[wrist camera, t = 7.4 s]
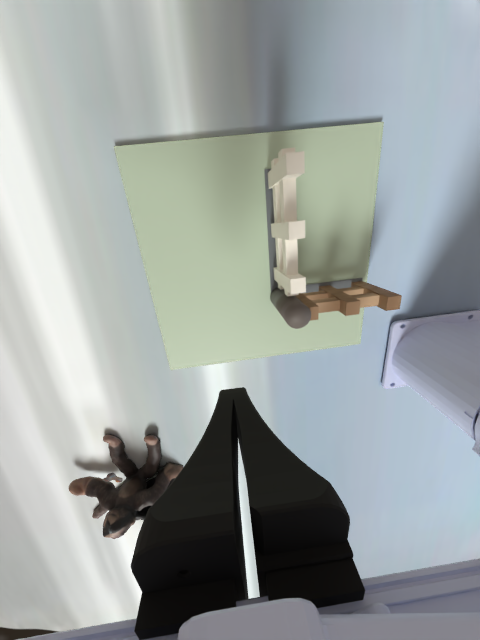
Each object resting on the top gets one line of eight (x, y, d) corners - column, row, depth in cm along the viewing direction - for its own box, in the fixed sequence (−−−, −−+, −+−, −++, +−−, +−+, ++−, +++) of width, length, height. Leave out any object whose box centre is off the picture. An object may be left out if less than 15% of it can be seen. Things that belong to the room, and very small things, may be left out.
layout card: (380, 123, 17) (384, 121, 16) (358, 342, 24) (360, 344, 23) (115, 147, 16) (112, 145, 16) (171, 368, 23) (170, 370, 22)
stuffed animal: (188, 438, 25) (168, 574, 22) (189, 420, 35) (174, 514, 32) (69, 431, 23) (29, 579, 20) (104, 414, 33) (80, 514, 30)
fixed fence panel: (361, 275, 21) (406, 290, 16) (359, 294, 22) (401, 314, 17) (268, 287, 21) (285, 306, 16) (269, 306, 21) (286, 330, 16)
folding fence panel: (286, 283, 20) (305, 299, 15) (274, 285, 20) (291, 301, 15) (280, 163, 17) (304, 139, 12) (267, 164, 17) (285, 141, 12)
